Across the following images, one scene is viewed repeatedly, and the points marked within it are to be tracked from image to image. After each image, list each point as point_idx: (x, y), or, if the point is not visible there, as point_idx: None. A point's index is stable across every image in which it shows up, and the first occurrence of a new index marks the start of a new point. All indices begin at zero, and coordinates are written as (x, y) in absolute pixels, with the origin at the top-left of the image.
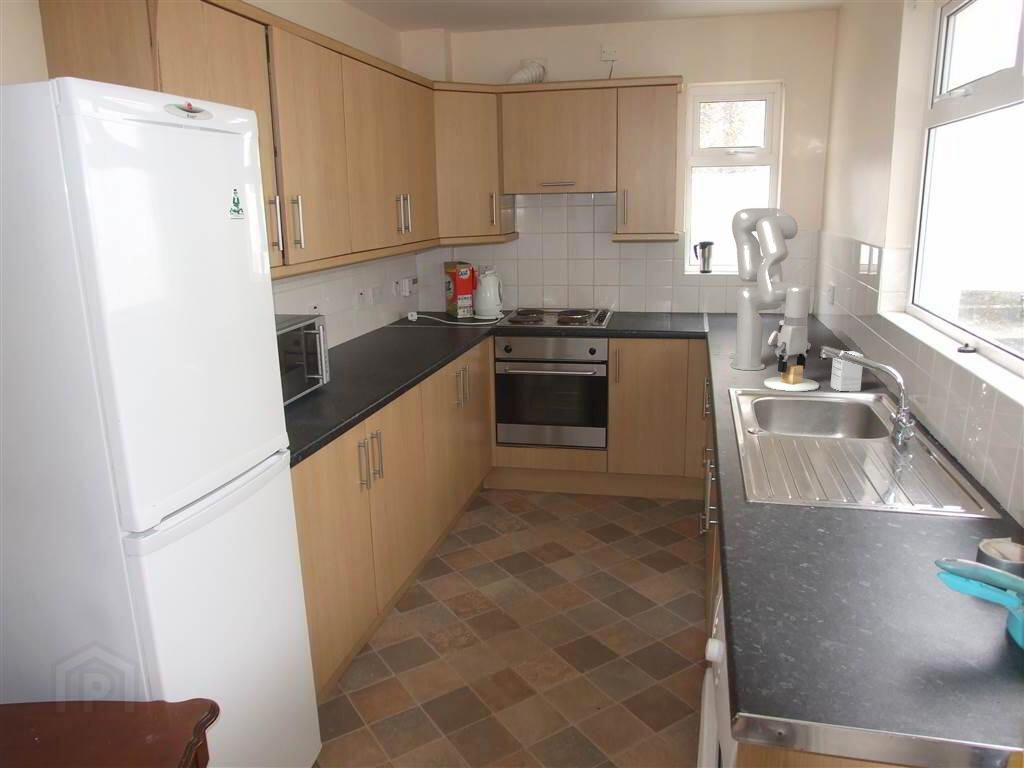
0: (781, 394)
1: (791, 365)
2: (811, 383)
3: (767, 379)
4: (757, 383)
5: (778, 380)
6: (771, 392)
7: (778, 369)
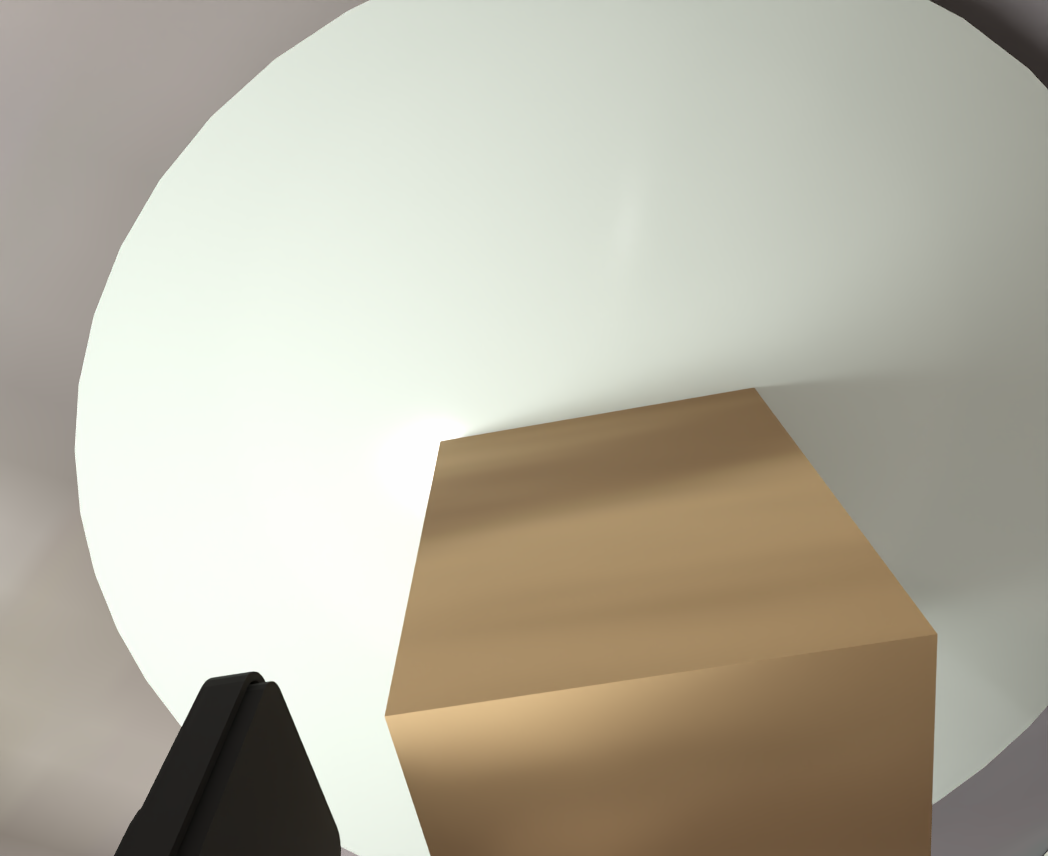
0: (108, 823)
1: (691, 828)
2: None
3: (321, 93)
4: (78, 37)
5: (506, 299)
6: (14, 701)
7: (203, 725)
